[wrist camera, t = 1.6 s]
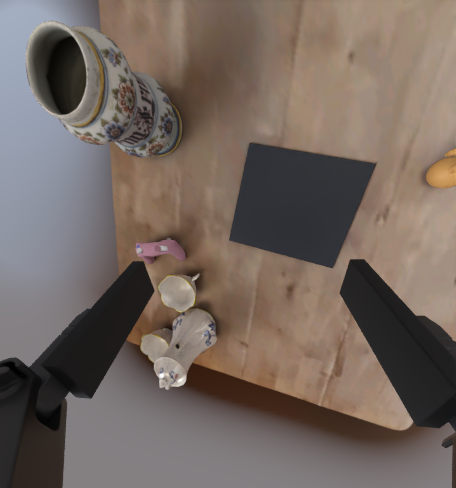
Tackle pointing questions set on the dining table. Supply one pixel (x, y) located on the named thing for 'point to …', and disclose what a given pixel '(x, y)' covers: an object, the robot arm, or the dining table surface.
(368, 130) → the dining table surface
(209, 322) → the chinaware
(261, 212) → the mat
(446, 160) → the figurine
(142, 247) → the video game controller
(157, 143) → the apothecary jar
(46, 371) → the robot arm
